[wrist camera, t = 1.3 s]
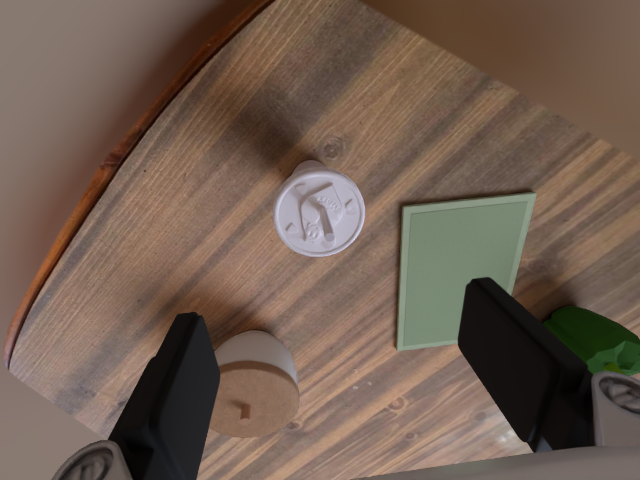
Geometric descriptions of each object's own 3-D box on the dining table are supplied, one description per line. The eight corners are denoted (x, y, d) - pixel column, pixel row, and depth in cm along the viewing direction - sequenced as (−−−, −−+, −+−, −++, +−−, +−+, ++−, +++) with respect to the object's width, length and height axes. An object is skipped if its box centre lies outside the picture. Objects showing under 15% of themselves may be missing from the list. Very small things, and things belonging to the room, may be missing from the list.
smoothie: (354, 159, 29) (403, 211, 16) (329, 218, 31) (356, 304, 19) (289, 134, 27) (288, 172, 15) (269, 199, 30) (253, 278, 17)
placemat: (401, 205, 31) (403, 207, 31) (533, 191, 32) (537, 193, 31) (395, 348, 40) (397, 351, 40) (498, 335, 41) (501, 338, 40)
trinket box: (209, 376, 39) (187, 453, 31) (212, 310, 35) (187, 380, 27) (291, 381, 41) (291, 455, 33) (304, 319, 37) (308, 387, 28)
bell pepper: (521, 315, 39) (589, 381, 30) (585, 286, 38) (675, 346, 29) (534, 354, 43) (598, 423, 34) (592, 329, 42) (675, 394, 33)
